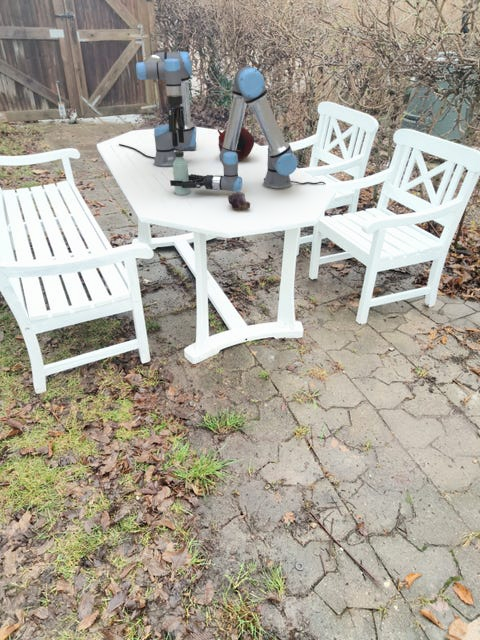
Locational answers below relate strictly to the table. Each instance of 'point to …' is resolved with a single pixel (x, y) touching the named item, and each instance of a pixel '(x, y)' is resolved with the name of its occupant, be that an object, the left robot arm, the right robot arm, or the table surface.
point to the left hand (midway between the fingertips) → (178, 144)
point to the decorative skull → (240, 143)
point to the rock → (238, 201)
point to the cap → (179, 154)
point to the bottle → (181, 175)
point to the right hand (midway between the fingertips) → (173, 180)
